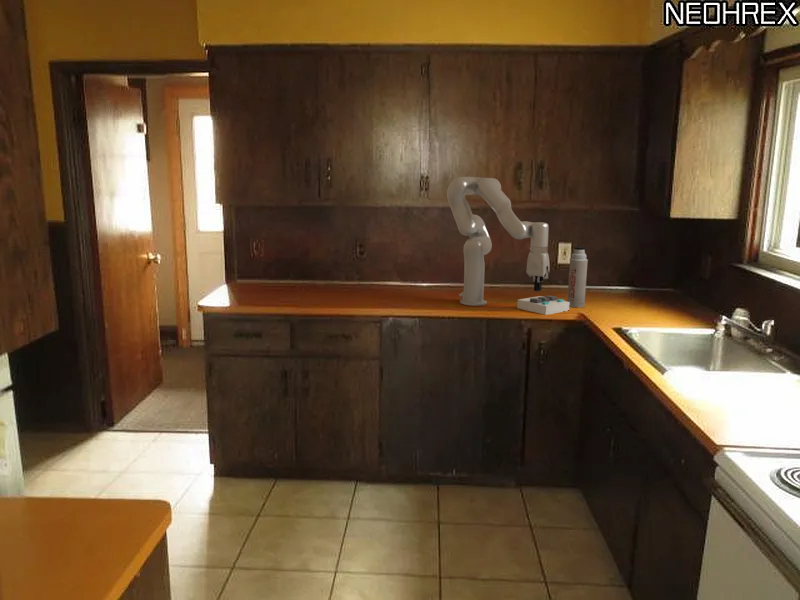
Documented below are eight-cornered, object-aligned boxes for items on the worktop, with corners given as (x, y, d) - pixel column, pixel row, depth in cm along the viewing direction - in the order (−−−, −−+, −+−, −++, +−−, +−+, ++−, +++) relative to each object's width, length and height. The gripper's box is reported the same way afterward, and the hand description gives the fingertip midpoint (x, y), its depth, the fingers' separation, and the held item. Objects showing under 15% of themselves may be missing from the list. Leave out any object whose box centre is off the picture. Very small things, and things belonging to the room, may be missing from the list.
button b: (537, 304, 304) (537, 297, 303) (542, 303, 306) (542, 296, 305) (544, 306, 301) (544, 298, 300) (549, 305, 302) (549, 298, 302)
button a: (529, 306, 301) (530, 298, 300) (534, 305, 303) (534, 297, 302) (536, 307, 298) (537, 300, 297) (541, 306, 299) (541, 299, 299)
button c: (544, 303, 307) (545, 296, 306) (549, 302, 309) (549, 295, 308) (552, 305, 304) (552, 297, 303) (556, 304, 306) (557, 296, 305)
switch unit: (517, 308, 305) (517, 297, 304) (540, 304, 315) (541, 293, 314) (545, 314, 292) (546, 303, 291) (569, 310, 302) (569, 299, 301)
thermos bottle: (573, 308, 307) (577, 248, 301) (563, 304, 314) (567, 246, 309) (587, 307, 310) (592, 247, 304) (577, 303, 317) (581, 245, 312)
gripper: (520, 249, 299) (519, 289, 302) (546, 252, 287) (544, 293, 290) (532, 248, 303) (530, 287, 306) (557, 251, 291) (556, 292, 295)
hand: (537, 290), depth 298 cm, fingers closed
